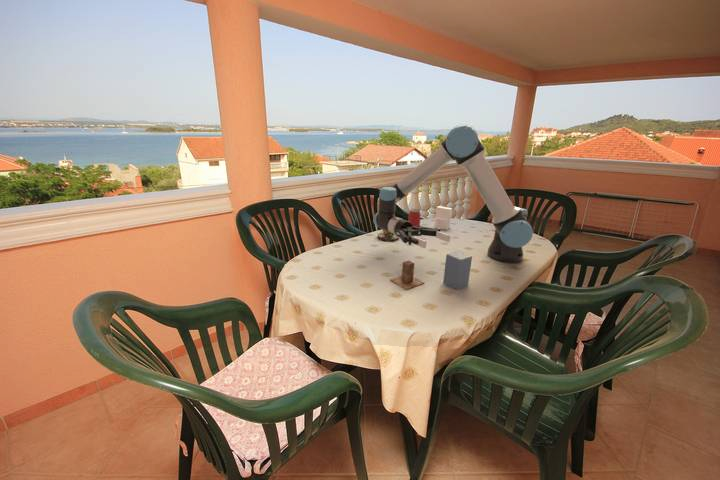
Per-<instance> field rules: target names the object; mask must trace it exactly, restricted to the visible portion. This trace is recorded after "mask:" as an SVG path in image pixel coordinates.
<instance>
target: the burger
mask: <svg viewBox="0 0 720 480" xmlns="http://www.w3.org/2000/svg"><path fill="white" fill-rule="evenodd" d="M377 239H378V240H380V241H383V242H389V243H390V242H394V241H395V240H397V239H400V238H399V237H398V236H397V235H394V234H393V233H390V232H388V231H386V230H382V232H380V233H377Z"/></svg>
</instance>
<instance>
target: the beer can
mask: <svg viewBox="0 0 720 480" xmlns="http://www.w3.org/2000/svg"><path fill="white" fill-rule="evenodd" d="M421 218H422V217H421V211H420V210H419V209H410V210H409V213H408V219H407V221H409V222H411V224H412V226H416V227H418V226H421Z"/></svg>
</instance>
